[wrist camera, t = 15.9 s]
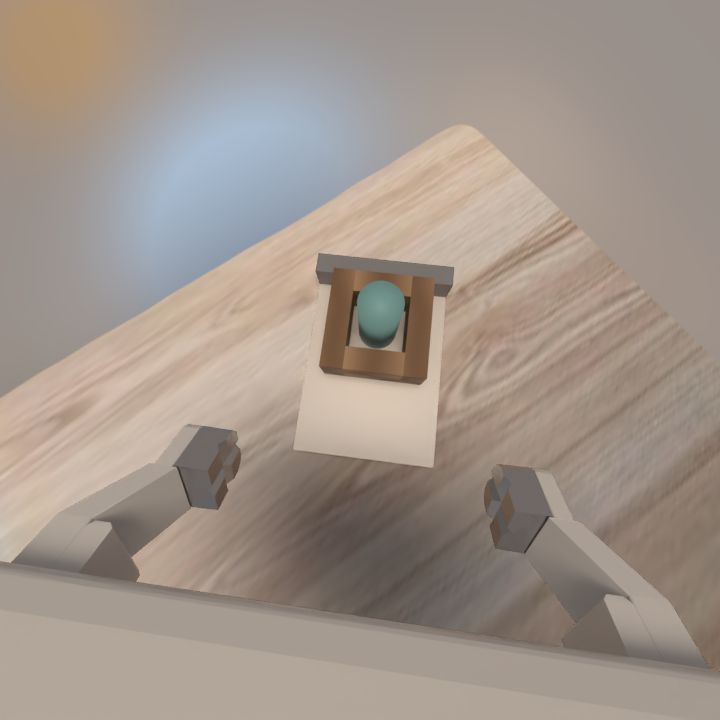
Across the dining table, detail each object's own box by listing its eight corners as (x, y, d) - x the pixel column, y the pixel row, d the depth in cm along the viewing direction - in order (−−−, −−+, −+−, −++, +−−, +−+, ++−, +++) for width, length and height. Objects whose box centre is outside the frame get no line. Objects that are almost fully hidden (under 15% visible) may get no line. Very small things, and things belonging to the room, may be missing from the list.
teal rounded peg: (397, 314, 36) (406, 282, 28) (394, 350, 35) (403, 327, 27) (360, 311, 36) (359, 278, 28) (356, 346, 35) (354, 323, 27)
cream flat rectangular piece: (444, 284, 38) (454, 267, 34) (431, 467, 33) (440, 471, 29) (323, 271, 38) (318, 253, 34) (294, 449, 34) (285, 451, 30)
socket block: (427, 294, 36) (435, 278, 32) (420, 385, 34) (427, 378, 30) (337, 285, 37) (334, 267, 33) (324, 373, 34) (318, 365, 31)
